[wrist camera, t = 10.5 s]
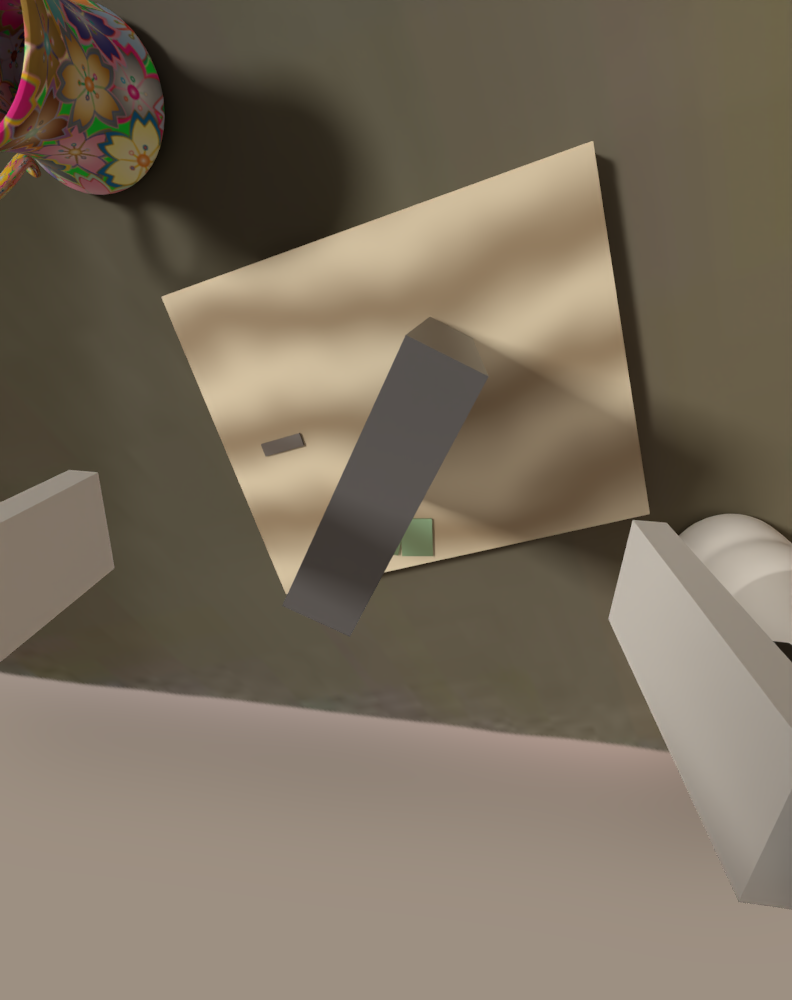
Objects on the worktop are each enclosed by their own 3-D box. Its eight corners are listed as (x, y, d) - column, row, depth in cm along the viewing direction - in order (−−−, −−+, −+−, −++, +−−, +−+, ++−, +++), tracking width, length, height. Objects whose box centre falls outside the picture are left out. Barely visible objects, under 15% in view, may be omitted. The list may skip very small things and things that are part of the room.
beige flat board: (174, 296, 31) (160, 296, 30) (585, 148, 27) (593, 140, 25) (292, 582, 38) (285, 595, 36) (641, 504, 33) (650, 515, 31)
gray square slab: (332, 525, 34) (245, 685, 20) (429, 316, 29) (405, 334, 15) (368, 542, 34) (308, 713, 20) (472, 338, 29) (488, 376, 15)
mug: (42, -46, 26) (-209, -254, 16) (207, 68, 27) (65, -64, 17) (-16, 192, 30) (-242, 142, 21) (128, 282, 31) (-21, 276, 22)
